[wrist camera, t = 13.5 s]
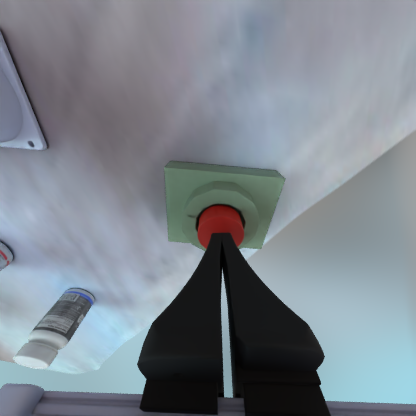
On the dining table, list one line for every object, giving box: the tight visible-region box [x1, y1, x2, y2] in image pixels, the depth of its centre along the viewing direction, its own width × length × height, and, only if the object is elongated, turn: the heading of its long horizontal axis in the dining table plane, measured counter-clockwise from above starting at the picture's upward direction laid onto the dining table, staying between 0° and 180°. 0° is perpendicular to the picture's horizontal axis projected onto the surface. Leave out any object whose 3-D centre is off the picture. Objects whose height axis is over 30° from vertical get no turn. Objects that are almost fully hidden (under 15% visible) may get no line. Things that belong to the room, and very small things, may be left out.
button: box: [197, 205, 244, 249], centre depth 13 cm, size 4×4×2 cm
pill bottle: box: [13, 288, 94, 369], centre depth 23 cm, size 5×5×8 cm
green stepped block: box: [164, 161, 285, 251], centre depth 15 cm, size 10×8×4 cm
